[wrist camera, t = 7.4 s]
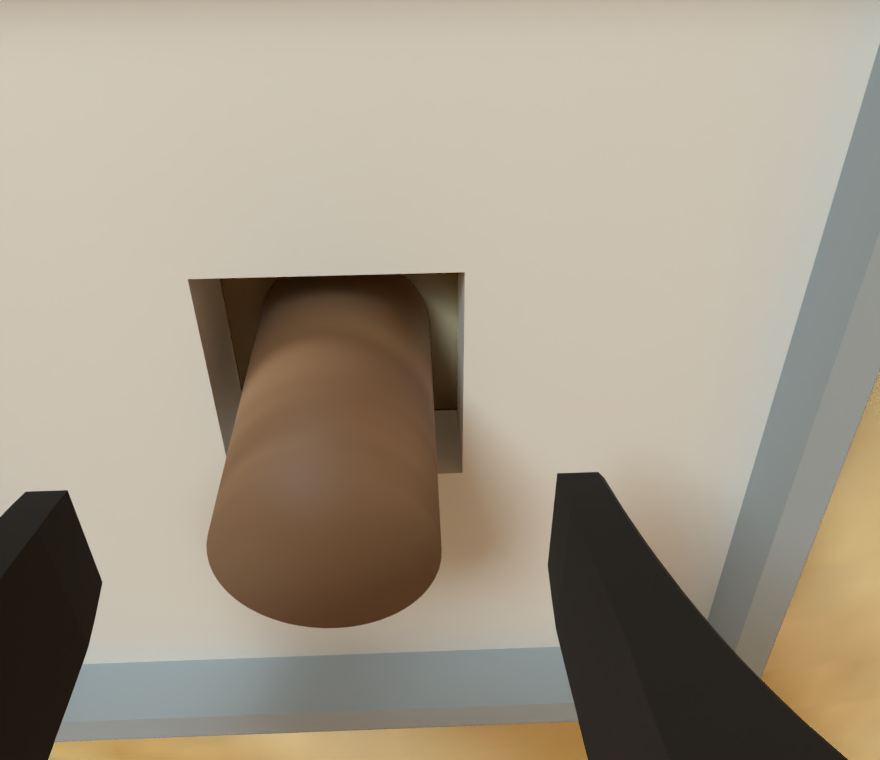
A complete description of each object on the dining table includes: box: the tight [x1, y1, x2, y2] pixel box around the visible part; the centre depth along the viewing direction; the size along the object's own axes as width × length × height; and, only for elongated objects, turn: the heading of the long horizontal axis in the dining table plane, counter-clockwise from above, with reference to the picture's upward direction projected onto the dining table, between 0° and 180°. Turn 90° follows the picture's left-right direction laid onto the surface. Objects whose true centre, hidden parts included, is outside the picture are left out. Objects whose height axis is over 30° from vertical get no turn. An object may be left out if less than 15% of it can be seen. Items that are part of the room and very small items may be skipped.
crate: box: [0, 0, 880, 742], centre depth 16 cm, size 18×18×4 cm
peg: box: [206, 274, 442, 628], centre depth 15 cm, size 3×3×6 cm
